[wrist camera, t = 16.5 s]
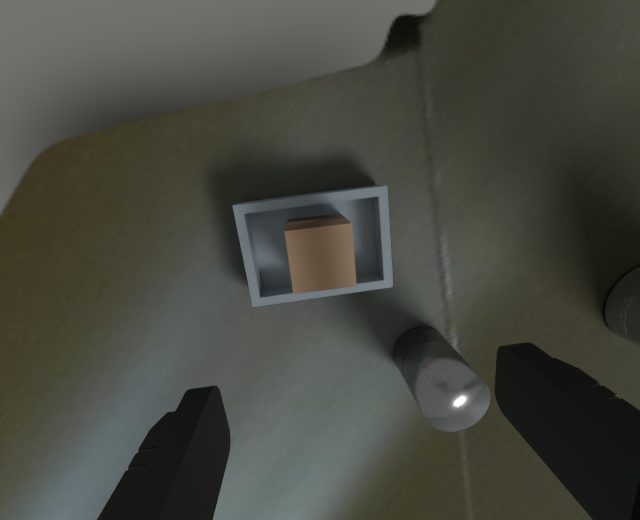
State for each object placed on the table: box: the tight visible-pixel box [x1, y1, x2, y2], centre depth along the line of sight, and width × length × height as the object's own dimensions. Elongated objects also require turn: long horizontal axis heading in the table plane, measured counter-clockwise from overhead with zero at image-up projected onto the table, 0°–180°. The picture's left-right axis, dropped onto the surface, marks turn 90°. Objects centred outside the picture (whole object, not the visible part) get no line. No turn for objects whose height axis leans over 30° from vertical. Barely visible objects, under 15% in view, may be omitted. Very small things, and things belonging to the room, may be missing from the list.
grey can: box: [393, 327, 490, 432], centre depth 29 cm, size 6×6×8 cm
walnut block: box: [285, 214, 357, 294], centre depth 26 cm, size 5×5×6 cm
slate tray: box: [232, 185, 393, 307], centre depth 28 cm, size 13×9×3 cm
